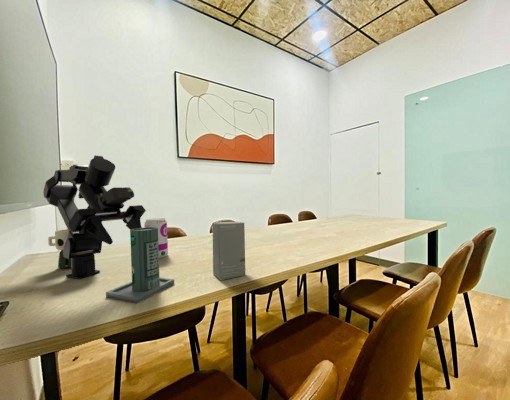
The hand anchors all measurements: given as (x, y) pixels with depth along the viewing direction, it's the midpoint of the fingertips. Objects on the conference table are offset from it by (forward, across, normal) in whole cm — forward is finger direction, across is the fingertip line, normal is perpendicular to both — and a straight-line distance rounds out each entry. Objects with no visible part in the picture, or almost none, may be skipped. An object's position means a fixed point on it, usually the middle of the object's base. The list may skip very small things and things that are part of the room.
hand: (127, 239), depth 61 cm
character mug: (-16, +6, +35) cm, 39 cm away
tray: (+13, -1, +5) cm, 14 cm away
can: (+13, 0, +4) cm, 14 cm away
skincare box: (+24, +16, -6) cm, 30 cm away
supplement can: (-2, +26, +21) cm, 34 cm away
